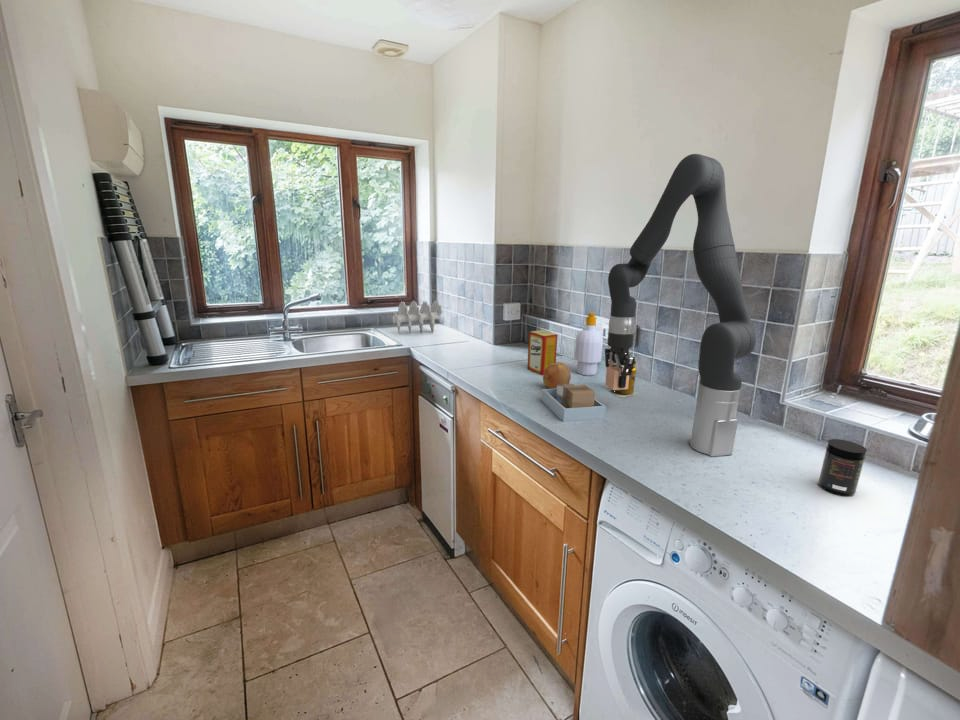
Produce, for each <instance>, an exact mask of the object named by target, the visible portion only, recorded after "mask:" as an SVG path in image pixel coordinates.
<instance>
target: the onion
mask: <svg viewBox="0 0 960 720" xmlns="http://www.w3.org/2000/svg"><path fill="white" fill-rule="evenodd" d="M571 375H572V374H571V372H570V369H569V367H568V366H567V365H566V364H564V363H563V362H560V361H559V362H557V361H556V363H553V364H551V365H549V366H548V367H547V368H546V369H545V371H544V374H543V375H542V380H543V383H544V386H545V387H546V388H547V389H555V388H557V385H558V384H563V383H567V384H570V381H571V377H572V376H571Z"/></svg>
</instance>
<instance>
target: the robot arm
mask: <svg viewBox="0 0 960 720" xmlns="http://www.w3.org/2000/svg"><path fill="white" fill-rule="evenodd" d="M725 178H726V177H725V171H724V167H723V166H722V164H721V163H720V162H719V160H717V159H716V158H713V157H710V156H707V155H703V154H700V153H699V154H698V153H691V154H688V155H686V156H684V158H682V159H681V160H680V161H679V162H678V164H677V165H676V167H675V168H674V170H673V173H672V174H671V176H670V179H669V181H668V182H667V184H666V187H665V188H664V191H663V192H662V195H661V197H660V199H658V200H659V201H658V203H657V204H656V206H655V209H654V210H653V212H652V215H651V216H650V217H649V219H648V221H647V223H646V225H645V226H644V227H643V229H642V230H641V232H640V233H639V235H638V236H637V238H635V240H634V242H633V243H632V245H631V247H630V249H629V255H630V259H629V261H628V262H627V263H617V264H614V266H612V268H611V269H610V271H609V273H608V276H607V277H608V278H607V282H608V283H607V284H608V291H609V296H610V301H611V304H610V313H609V314H610V315H609V316H610V317H609V321H608V331H607V333H608V334H607V346H608V347H609V348H605V349H604V357H605V358H604V359H605V360H604V361H605V363H604V364H605V365H604V366H605V368H607V367H617V369H618V371H619V379H618V387H619V388H625V385H626V377H627V376H628V375H631V374H632V370H633V366H634V362H635V361H636V359H635V357H634V356H630V348H633V346H634V338H635V329H636V327H635V325H636V321H635V320H636V319H635V318H636V309H637V308H636V307H637V301H636V298H635V297H634V296H631V295H630V288H634V287H637V286H638V285H639V284H640V283H641V282H643V281H644V279H645V277H646V275H647V273H648V272H649V269H650V267H651V264H652V261H653V260H654V258H656V256H657V254H658V253H659V252H660V251H661V249H662V248H663V246H664V245H665V243H666V242H667V240H668V238H669V236H670V234H671V230H672V227H673V223H674V220H675V218H676V215H677V213H678V211H679V210H680V208H681V207H682V205H683V204H684V203H685V202H686V200H688V198H690V196H691V195H692V198H693V199H694V204H695V207H696V213H697V226H696V230H695V235H694V237H693V238H694V240H693V244H692V252H693V253H692V254H693V259H694V265H695V266H694V267H695V271H696V274H697V276H698V278H699V280H700V282H701V284H702V285H703V287H704V288H705V290H706V291H707V292H708V294H709V295H710V296H711V299H713V301H714V304H715V307H716V310H717V315H718V319H719V322H717V323H713V324H710V325H709V326H707V327H706V329H705V330H704V332H703V333H702V337H701V340H700V346H699V347H700V348H699V357H698V358H699V360H698V373H699V386H698V391H697V397H696V402H695V403H696V404H695V410H694V417H693V423H692V424H693V425H692V429H691V430H692V431H691V436H690V437H691V438H690V443H689V444H690V447H691V448H692V449H694V450H695V451H697V452H699V453H702V454H705V455H708V456H710V457H720V456H721V457H722V456H727V455H728V456H729V455H730V456H731V455H733V451H734V445H735V441H736V440H735V439H736V434H737V430H738V423H739V420H738V419H737V418H736V416H737V411H738V410H737V409H738V404H739V400H740V395H741V388H742V384H743V379H742V377H741V375H739V374H737V373H736V372H734V371H735V370H734V369H735V368H734V367H735V360H736V359H737V360H738V359H743V358H745V357H748V356H750V355H751V353H752V352H753V351H754V350H755V346H756V342H757V341H756V340H757V338H756V333H755V328H754V324H753V322H752V319H751V315H750V313H749V309H748V306H747V303H746V299H745V294H744V290H743V284H742V281H741V280H742V279H741V275H740V270H739V263H738V257H737V252H736V245H735V242H734V237H733V232H732V227H731V223H730V218H729V212H728V205H727V195H726V179H725ZM623 364H624V366H621V365H623ZM622 368H623V371H622ZM628 369H629V370H628Z"/></svg>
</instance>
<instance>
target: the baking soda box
mask: <svg viewBox="0 0 960 720" xmlns="http://www.w3.org/2000/svg"><path fill="white" fill-rule="evenodd" d="M557 348H558V334H557V333H554V332H549V330H544V329H541V330H533V331H532V330H530V331H529V332H528V348H527V349H528V350H527V351H528V352H527V370H528V371H531V372H533V373H535V374H539V375H541V376H543V374H544V371H545V369H546V368H547V367H548V366H549V365H551V364H553V363H556V362H557Z"/></svg>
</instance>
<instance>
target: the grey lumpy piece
mask: <svg viewBox="0 0 960 720" xmlns="http://www.w3.org/2000/svg"><path fill="white" fill-rule="evenodd" d="M417 303H418V302H417V301H415V300H412V302H411V303H410V304H409V308H408V306H406V303H405V301H400V303H399V305H398V308H397V312H396V311H394V315H392V323H393V324H396V327H397V332H398V334H399V335H401V326H402V325H403V324H404V323H407V327H408V332H409V333H410V334H412V325H413V324H414V322H418V324H419V325H418V328H419V331H420V333H421V334H424V333H423V332H424V326H423V325H425V321H429V328H430V331H431V333H434V331H435V324H436V322H435V321H436V320H440V318H441V317H440V316H441V315H442V314H443V308H442V304H440V303H439V300H434V302H432V304H431V305H430V304H428V301H427V300H425V301H422V303H421V305H420V307H419V306H418V304H417Z"/></svg>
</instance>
